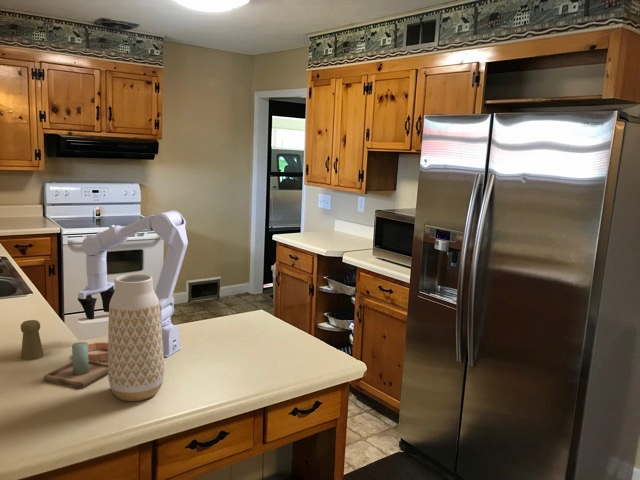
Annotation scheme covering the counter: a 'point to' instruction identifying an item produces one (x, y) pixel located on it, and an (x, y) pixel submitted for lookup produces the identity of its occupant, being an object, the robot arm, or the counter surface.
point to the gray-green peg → (80, 358)
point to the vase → (135, 339)
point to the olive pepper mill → (31, 340)
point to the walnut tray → (81, 381)
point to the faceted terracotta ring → (98, 346)
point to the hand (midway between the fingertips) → (98, 315)
